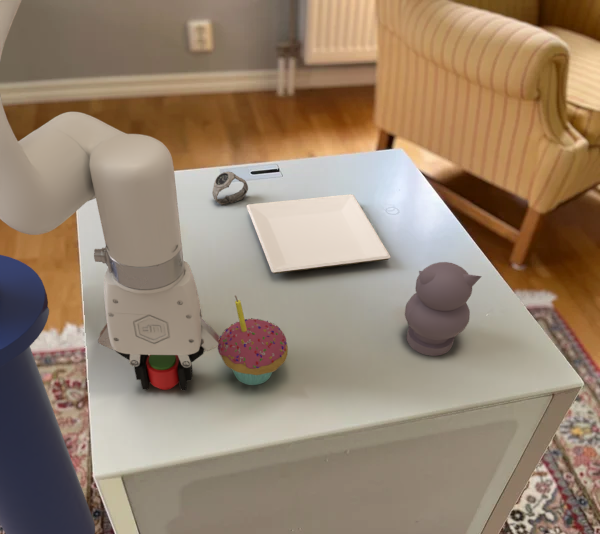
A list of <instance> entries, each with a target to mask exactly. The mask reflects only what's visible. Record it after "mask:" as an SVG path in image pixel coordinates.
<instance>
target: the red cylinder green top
mask: <svg viewBox="0 0 600 534" xmlns="http://www.w3.org/2000/svg"><path fill="white" fill-rule="evenodd" d="M178 362H179V357H178V355H149V356H148V358H147V361H146V367H147V372H148V377H149V381H150V385H152V386H153V387H154V388H157V389H159V390H163V391H168V390H171V389H173V388H174V387H176V386H177V385H178V384H179V377H178Z"/></svg>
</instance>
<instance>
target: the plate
mask: <svg viewBox="0 0 600 534" xmlns="http://www.w3.org/2000/svg"><path fill="white" fill-rule="evenodd" d="M246 210H247V211H248V213H249V214H248V215H249V217H250V219H251V222H252V224H253V227H254V230H255V232H256V235H257V237H258V240H259V242H260V243H259V244H260V245H261V248H262V250H263V254H264V255H265V259H266V260H267V263H268V265H269V269H270V271H271V273H273V274H283V273H291V272H299V271H306V270H316V269H324V268H331V267H340V266H341V267H342V266H349V265H357V264H364V263H374V262H381V261H388V260H389V259H391V255H390V253H389V251H388V250H387V248H386V246H385V245H384V244H383V241H382V240H381V238H380V236H379V235H378V233H377V232H376V229H375V228H374V226H373V225H372V223H371V222H370V220H369V217H368V216H367V214H366V213H365V211H364V210H363V207H361V205H360V203H359V202H358V200H357V198H356V196H355V195H354V194H352V193H351V194H350V193H349V194H340V195H339V194H338V195H329V196H319V197H310V198H300V199H298V198H297V199H289V200H279V201H269V202H259V203H249V204H247V205H246Z"/></svg>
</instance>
